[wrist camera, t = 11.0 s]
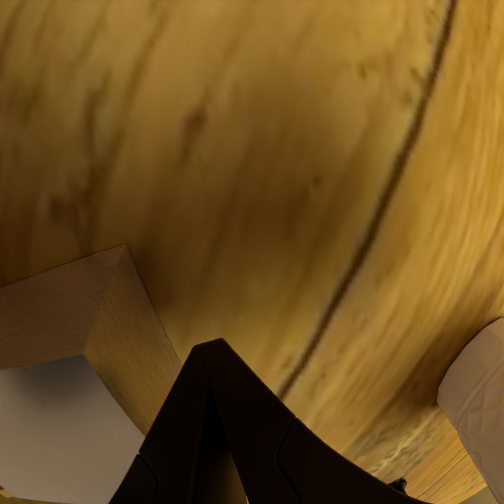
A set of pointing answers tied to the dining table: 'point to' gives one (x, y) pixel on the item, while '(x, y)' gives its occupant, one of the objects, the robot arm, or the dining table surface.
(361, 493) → the robot arm
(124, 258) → the block
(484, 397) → the white cup
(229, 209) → the dining table surface
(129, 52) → the dining table surface
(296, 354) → the dining table surface
